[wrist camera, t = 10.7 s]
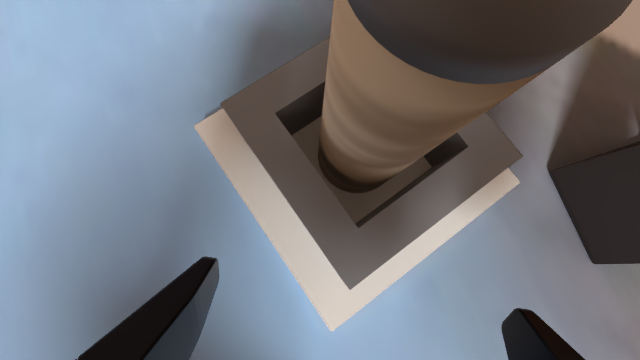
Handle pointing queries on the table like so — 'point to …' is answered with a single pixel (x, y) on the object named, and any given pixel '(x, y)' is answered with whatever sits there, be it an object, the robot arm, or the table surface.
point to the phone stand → (605, 203)
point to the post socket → (340, 206)
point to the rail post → (433, 73)
